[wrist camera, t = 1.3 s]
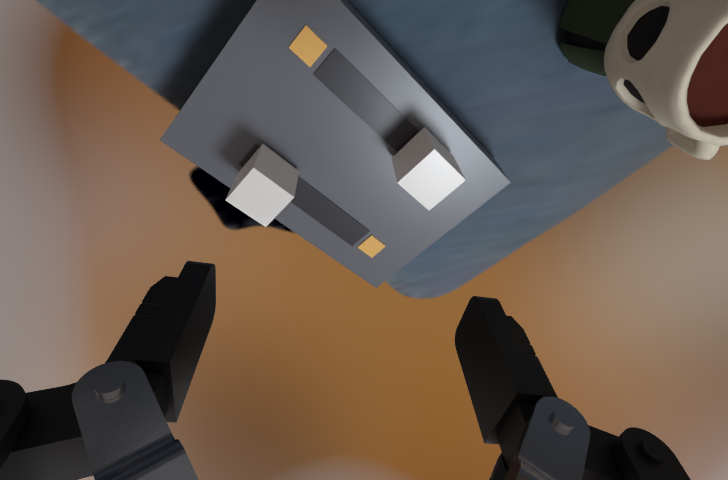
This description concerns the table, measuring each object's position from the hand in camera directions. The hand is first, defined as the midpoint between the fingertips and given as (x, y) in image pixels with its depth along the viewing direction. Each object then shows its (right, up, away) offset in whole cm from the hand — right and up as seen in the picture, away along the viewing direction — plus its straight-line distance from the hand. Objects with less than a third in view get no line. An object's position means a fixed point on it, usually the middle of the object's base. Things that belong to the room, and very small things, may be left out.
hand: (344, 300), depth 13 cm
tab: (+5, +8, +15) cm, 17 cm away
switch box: (-1, +10, +19) cm, 21 cm away
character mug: (+17, +17, +14) cm, 28 cm away
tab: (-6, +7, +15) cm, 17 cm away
